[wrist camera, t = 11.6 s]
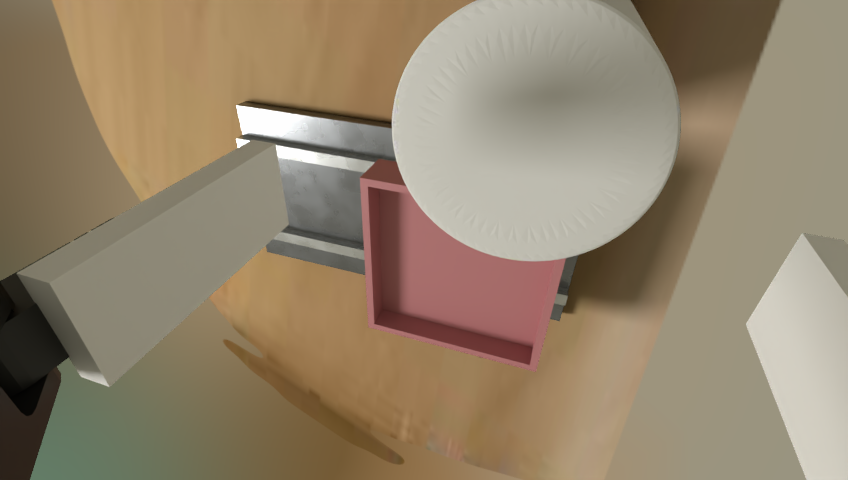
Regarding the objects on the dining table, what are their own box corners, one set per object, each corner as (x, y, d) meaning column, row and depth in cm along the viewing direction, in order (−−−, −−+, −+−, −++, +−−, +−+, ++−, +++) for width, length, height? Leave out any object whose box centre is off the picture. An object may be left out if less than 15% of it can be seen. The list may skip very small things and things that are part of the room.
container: (502, 124, 36) (427, 268, 20) (477, -13, 31) (353, 34, 15) (639, 101, 32) (680, 259, 16) (633, -60, 27) (684, -61, 11)
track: (244, 101, 42) (229, 108, 41) (605, 154, 34) (605, 165, 33) (273, 246, 52) (262, 256, 50) (560, 312, 44) (558, 328, 42)
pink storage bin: (392, 144, 37) (359, 177, 32) (580, 174, 33) (577, 216, 28) (394, 283, 46) (368, 327, 41) (543, 319, 42) (535, 371, 37)
